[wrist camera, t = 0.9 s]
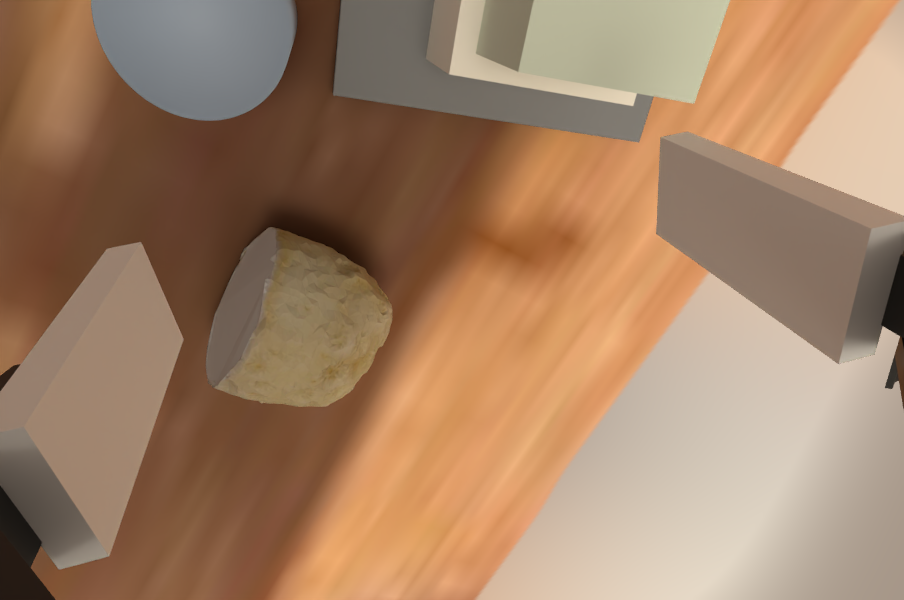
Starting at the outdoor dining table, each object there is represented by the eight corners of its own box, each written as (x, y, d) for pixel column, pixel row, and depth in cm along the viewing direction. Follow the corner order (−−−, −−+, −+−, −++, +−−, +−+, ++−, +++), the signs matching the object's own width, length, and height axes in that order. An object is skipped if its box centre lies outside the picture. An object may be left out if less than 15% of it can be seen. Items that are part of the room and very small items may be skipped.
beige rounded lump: (210, 198, 26) (395, 330, 26) (291, 196, 36) (425, 291, 36) (110, 365, 28) (284, 486, 28) (214, 319, 38) (341, 408, 38)
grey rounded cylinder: (168, 66, 29) (99, 106, 20) (164, -75, 26) (81, -106, 17) (293, 85, 31) (285, 132, 21) (301, -45, 28) (296, -59, 19)
